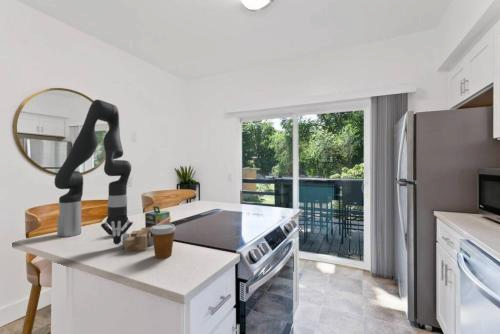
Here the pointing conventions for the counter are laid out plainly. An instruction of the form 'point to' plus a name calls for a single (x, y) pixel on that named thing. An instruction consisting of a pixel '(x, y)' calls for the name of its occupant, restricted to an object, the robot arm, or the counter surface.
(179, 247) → the counter surface
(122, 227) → the white cup
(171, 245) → the disposable coffee cup
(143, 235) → the hitch block
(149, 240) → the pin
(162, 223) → the keeper flap
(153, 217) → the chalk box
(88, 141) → the robot arm
